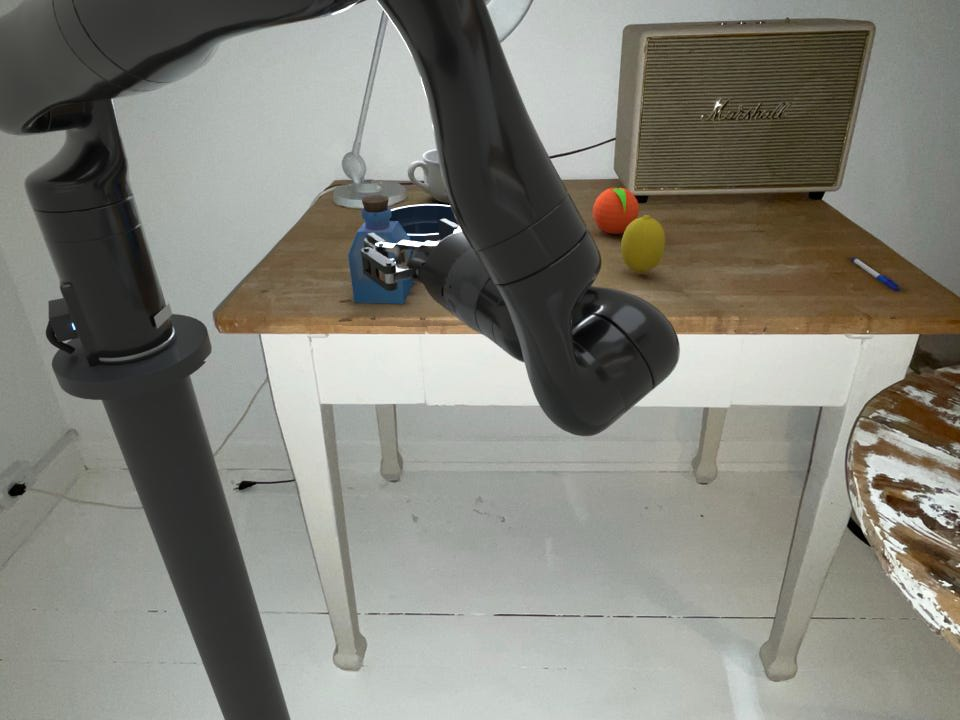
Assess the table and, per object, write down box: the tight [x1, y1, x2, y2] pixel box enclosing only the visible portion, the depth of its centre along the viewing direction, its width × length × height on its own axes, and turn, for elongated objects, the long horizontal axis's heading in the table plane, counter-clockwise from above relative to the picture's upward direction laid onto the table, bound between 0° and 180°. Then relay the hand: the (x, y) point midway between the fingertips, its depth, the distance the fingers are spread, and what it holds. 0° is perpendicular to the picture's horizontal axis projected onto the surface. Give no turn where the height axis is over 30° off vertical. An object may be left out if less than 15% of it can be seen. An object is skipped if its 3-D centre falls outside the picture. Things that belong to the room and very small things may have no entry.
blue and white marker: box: [851, 257, 900, 292], centre depth 82 cm, size 10×1×1 cm, turn 3°
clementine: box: [592, 186, 640, 235], centre depth 96 cm, size 8×7×7 cm
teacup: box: [407, 148, 449, 204], centre depth 113 cm, size 14×11×8 cm
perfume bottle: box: [347, 194, 414, 305], centre depth 77 cm, size 6×6×12 cm
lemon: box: [620, 214, 666, 275], centre depth 82 cm, size 6×6×8 cm
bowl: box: [389, 203, 458, 254], centre depth 91 cm, size 14×14×5 cm
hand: (406, 234), depth 69 cm, fingers open, 8 cm apart
